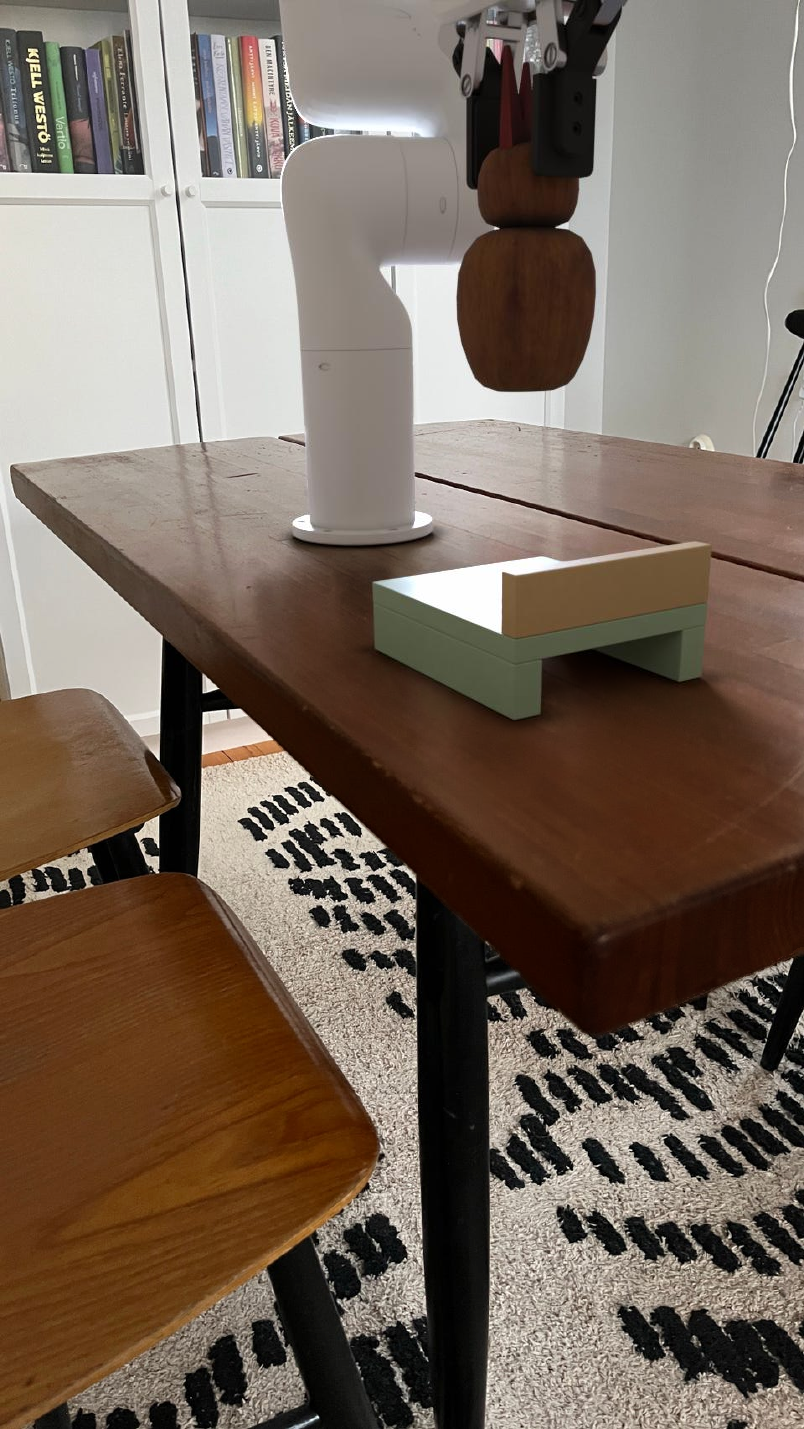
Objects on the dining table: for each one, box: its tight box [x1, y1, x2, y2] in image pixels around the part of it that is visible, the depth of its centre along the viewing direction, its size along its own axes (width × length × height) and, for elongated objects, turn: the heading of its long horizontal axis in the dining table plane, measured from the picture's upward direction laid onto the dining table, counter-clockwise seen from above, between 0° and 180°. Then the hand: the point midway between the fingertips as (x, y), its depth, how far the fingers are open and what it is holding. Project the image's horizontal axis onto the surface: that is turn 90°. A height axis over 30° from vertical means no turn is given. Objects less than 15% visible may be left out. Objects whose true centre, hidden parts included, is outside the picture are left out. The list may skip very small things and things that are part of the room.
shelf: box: [371, 540, 713, 721], centre depth 57 cm, size 14×12×7 cm
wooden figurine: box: [455, 45, 597, 393], centre depth 51 cm, size 7×6×15 cm
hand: (527, 179), depth 51 cm, fingers closed on wooden figurine, 4 cm apart
